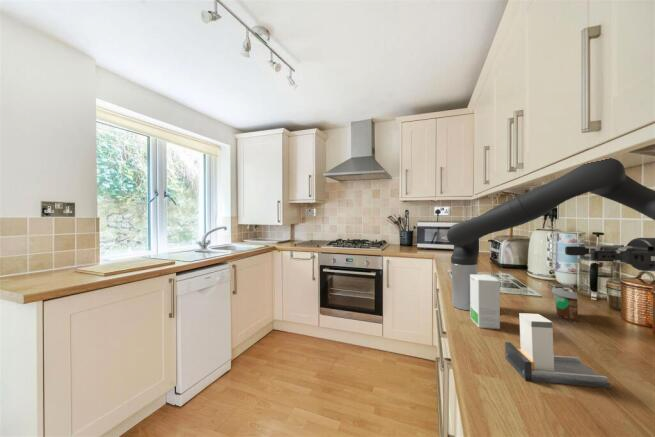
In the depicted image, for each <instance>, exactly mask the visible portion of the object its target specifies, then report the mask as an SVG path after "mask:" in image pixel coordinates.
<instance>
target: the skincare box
mask: <svg viewBox="0 0 655 437" xmlns="http://www.w3.org/2000/svg"><path fill="white" fill-rule="evenodd" d="M500 283H501V282H500V280H499V279H497V278H496V277H494V276H492V275H491V274H478V275H475V274H470V310H469V318H470V320H471V321H472V322H473V323H474V324H475V325H476V326H477V327H478V328H480V329H494V330H495V329H496V330H500V328H501V311H500V309H501V306H500V305H501V304H500V303H501V301H500V300H501V297H500V295H501V290H500V289H501V286H500V285H501V284H500Z"/></svg>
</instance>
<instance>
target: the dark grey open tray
mask: <svg viewBox="0 0 655 437" xmlns="http://www.w3.org/2000/svg"><path fill="white" fill-rule="evenodd" d="M518 349H519V348H517V347H516V346H515V345H514V344H513V343H512V342H510V341H509V342H506V341H505V342H504V351H505V353H504V354H505V359H506V361H507V362H508V363H509V364H510V366H512V367H513V369H514V370H516V372H517V373H518V374H519V375H520V376H521V377H522V378H523V379H524V381H528V382H536V383H537V382H538V383H547V384H548V383H550V384H561V385H562V384H563V385H571V386H584V387H593V388H594V387H595V388H604V389H605V388H606V389H611V383H610V382H609V377H608V376H606V375H599V374H598V373H597V372H595V371H593V370H592V369H591V368H589V367H588V366H587V365H585V364H584V363H582V362H581V358H580V357H579V356H566V355H554V372H549V371H536V370H532V367H531V361H530V360H528V359H527V358H526V357H525V356H524V355H523V354H522V353H521V352H520V351H519V350H518Z"/></svg>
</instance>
